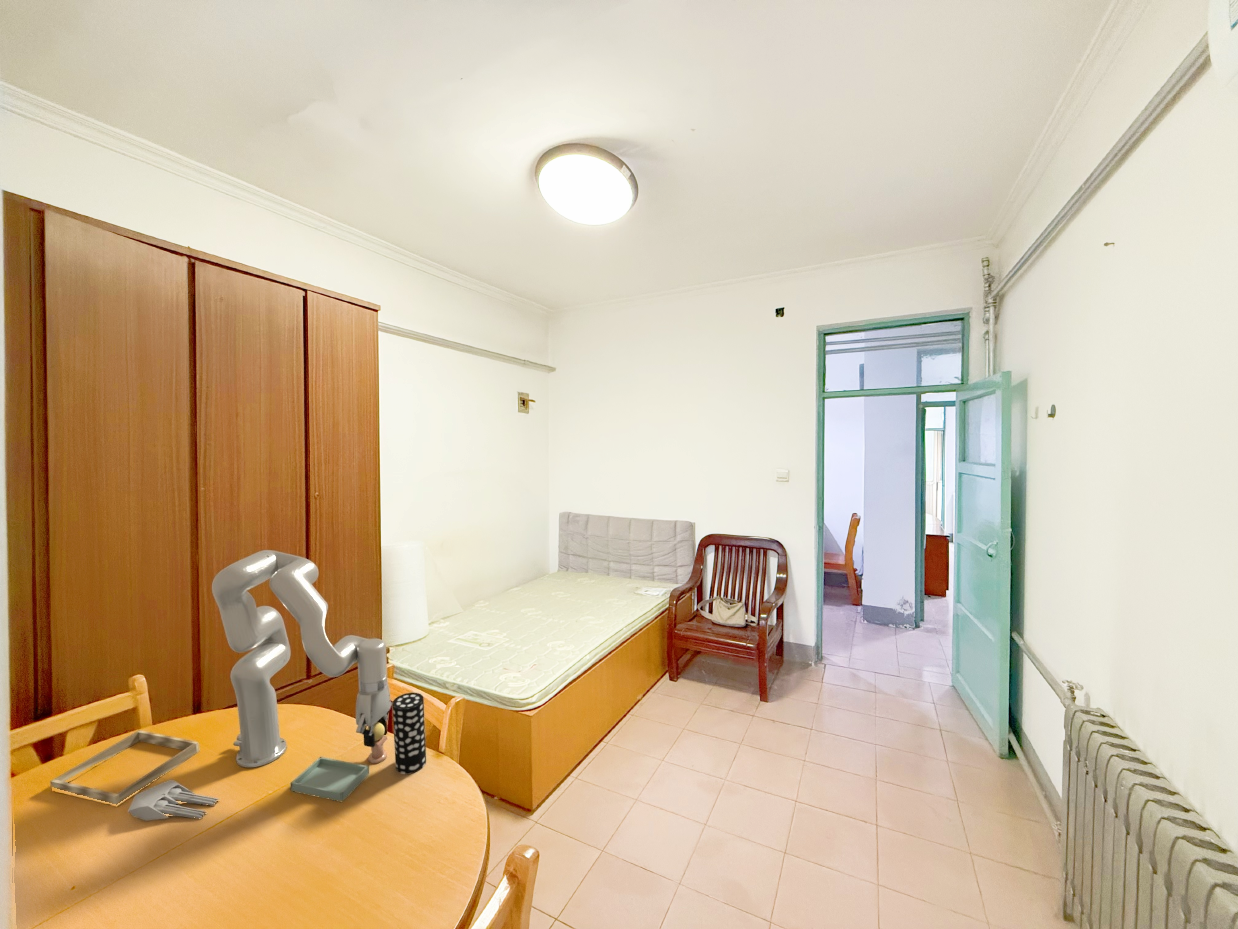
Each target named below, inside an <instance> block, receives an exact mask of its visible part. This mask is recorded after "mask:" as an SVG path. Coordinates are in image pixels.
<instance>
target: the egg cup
mask: <svg viewBox="0 0 1238 929" xmlns="http://www.w3.org/2000/svg"><path fill="white" fill-rule="evenodd" d="M387 740H388V736H387V735H383V737H382V738H381V739H379V740H377V741H375V746H374V747H370V748H371V752H370V754H369V755H368V762H369V763H370V764H379V763H382V762H384V761H385V760H386V759H387V758H388V752H387V751H386V750H385V749H384V743H385V742H386V741H387Z"/></svg>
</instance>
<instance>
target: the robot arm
mask: <svg viewBox="0 0 1238 929" xmlns="http://www.w3.org/2000/svg"><path fill="white" fill-rule="evenodd" d="M319 574H320V572H319V568H318V566H317V565H316V563H314V562H313V561H311V559H309V558H308V559H307V558H306V557H302V556H299V555H294V554H290V553H287V552H286V553H285V552H281V551H277V550H273V549H272V550H271V549H264V550H260V551H257V552H255V553H252V554H251V555H250V554H249V556H246V557H243V558H242V559H239V560H237V561H235V562H233V563H231V564H230V565H228V566H226V567H225V568H223V569H221V570H220V571H219V572H218V573H216V575H215V576H214V578H213V580H212V584H211V592H212V595H213V598H214V601H215V602H216V605H217V607H218V610H219V613H220V617H221V622H222V626H223V628H224V633H225V638H226V640H227V643H228V645H229V648H230V649H231V650H232V651H234V652H235V653H238V654H239V653H241V654H242V653H246V652H248V653H246V654H245V655H243V657H241V658H240V659H239V660H238V661H236V662H235V664H234V666H233V667H232V669H231V671H230V681H231V684H232V687H233V690H234V694H235V699H236V704H237V712H238V722H239V724H238V725H239V732H240V733H239V734H238V735H237V736H236V740H235V741H233V743H232V745H233V746H234V747H239V751H238V752H237V754H236V757H235V758H236V759H235V760H236V764H237V765H238V766H240V767H241V768H250V769H251V768H257V767H262V766H265V765H267V764H271V763H272V762H274V761H275V760H277V759H278V758H280V757H281V756H282V755H283V754H284V752H286V749H287V748H288V747H287V746H288V745H287V741H286V740H285V739H284V738H283V737H281V736H280V735H281V733H280V724H279V711H278V701H277V693H276V690H275V688H274V686H272V684H271V681H270V680H271V678H272V677H273V676H274V675H276V673H278V672H279V671H280V670H282V669H283V667H285V666H286V665H287V663H288V662H289V661H290V659H291V654H292V653H291V652H292V651H291V645H290V642H289V638H288V633H287V630H286V626H285V621H284V618H283V617H282V615H281V613H280V612H279V611H278V610H277V609H276V608H275V607H272V606H269V605H261V606H258V607H257V603H256V600H255V598H254V597H253V595H252V594H251V593H250V592H248V591H249V590H251V589H253V588H255V587H256V586H259V585H261V584H262V583H265V582H266V581H268V580H269V582H268V584H269V588H270V590H271V591H272V592H273V594H274V595H275V597H276V598H277V599H278V600H279V601H280V603H281V604H282V605H283V606H284V607H285V608H286V610H287V611H288V612H289V613H290V614H291V616H292V617H293V618H294V619H295V620H296V622H297V623H298V625H299V628H300V636H301V642H302V645H303V649H304V652H305V654H306V655H307V657H308V658H309V660H310V661H311V662H312V663H313V665H314V666H315V667H316V668H317V670H318V671H320V672H321V673H322V674H324V675H325V676H326V677H331V678H335V677H336V678H337V677H340V676H342V675H343V674H345V673H346V672H347V671H348V670H349V669H350V668H351V667H352V666H353V665H354V664H356V663H357V670H358V671H357V672H358V674H357V675H358V692H357V696H356V701H355V702H356V703H355V724H356V725H357V727H356V731H355V733H358V734H361V735H363V745H364V747H370V748H371V747H374V746H375V736H374V734H373V727H374V724H375V723H376V722H379V723H381V724H383V726H384V728H385V732H384V736H387V734H388V720H389V713H390V710H391V708H392V703H393V701H391V694H390V693H391V692H390V686H389V683H388V668H387V667H388V664H387V644H386V642H385V641H384V640H383V639H380V638H366V637H362V636H358V635H353V634H352V635H351V634H349V635H346V636H343V637H342V638H341V639H339V641H338V642H336V643H335V644H334V645H333V644H332V643H331V642H330V640H329V638H328V637H327V634H326V630H325V623H326V617H327V613H328V609H329V605H328V602H327V601H326V600H325V599H324V598H323V597H322V595H321V594H320V593H319V592H318V590H317V589H316V588H315V586H314V585H313V584H314V583H315V582H317V580H318V577H319ZM249 651H250V652H249ZM368 727H369V730H367V728H368Z"/></svg>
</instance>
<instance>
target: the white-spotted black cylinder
mask: <svg viewBox="0 0 1238 929" xmlns="http://www.w3.org/2000/svg"><path fill="white" fill-rule="evenodd" d="M424 698H425V697H424V696H423V695H422V694H421V693H419V692H406V693H404V694H400V695H398V696H396V698H394V699H393V701H392V705H391V707H392V719H393V720H392V723H393V741H394V742H393V745H394V760H395V762H394V764H395V770H396V771H397V772H398V773H400V774H402V775H410V774H415V773H417V772H419V771H420V770H422V769H423V768H424V767H425V765H426V763H427V748H426V730H425V729H426V727H425V724H426V723H425V702H424Z"/></svg>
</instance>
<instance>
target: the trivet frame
mask: <svg viewBox="0 0 1238 929" xmlns="http://www.w3.org/2000/svg"><path fill="white" fill-rule="evenodd" d="M138 742H142V743H143V742H144V743H147V744H153V745H157V746H161V747H166V748H171V749H174V750H175V749H176V750H181V751H179V752H178V753H177V754H176V755H174V756H172V757H171V758H169V759H168V760H165V762H163V763H161V764H160V765H158V766H157V767H156V768H154V769H152V770H151V771H149V772H148V773H147V774H145V775H144V776H142V777H140V778H138V779H137V780H136V781H134V782H132V783H131V784H129V785H128V786H126V787H125V788H124V789H122V790H120V791H118V792H117V793H114V792H109V791H104V790H100V789H97V788H93V787H88V786H86V785H85V786H84V785H80V784H76V783H72V782H70V783H68V782H65V781H66V780H68V779H70V778H71V777H73V776H75V775H76V774H78V773H80V772H82V771H84V770H86V769H87V768H89V767H92V766H93V765H95V764H97V763H99V762H101V761H103V760H106V759H108V758H110V757H112V756H113V757H115V756H117V755H118V754H117V753H119V752H120V753H121V751H122V752H123V750H124V751H126V750H127V749H129V748H130V747H132V746H134V745H135V744H137V743H138ZM199 743H200V742H198V741H194V740H190V739H185V738H179V737H175V736H170V735H165V734H161V733H157V732H156V733H154V732H151V731H145V730H137V731H135V732H133V733H131V734H129V735H128V736H127V737H124V738H122V739H121V740H120V741H118V742H115V743H114V744H113V745H111V746H109V747H106V748H105V749H104V750H102V751H100V752H98V753H97V754H94V755H93V756H91V757H89V758H88V759H86V760H85V761H82V762H81V763H79V764H77V765H75V766H74V767H72V768H70V769H69V770H67V771H65V772H64V773H62V774H60V775H58V776H57V777H54V778H53V779H52V780H50V782H49V784H50V788H51V787H54V788H57V789H60V790H64V791H68V792H71V793H75V794H77V795H83V796H87V797H89V798H93V799H97V800H101V801H105V802H109V803H112V804H116V805H117V804H118V803H120V802H121V801H123V800H124V799H126V798H127V797H129V796H130V795H132V794H133V793H135V792H136V791H138V790H140V789H141V788H143V787H145V786H146V785H148V784H149V783H151V782H152V781H153V780H155V779H157V778H158V777H160V776H161V775H163V774H165V773H166V772H168V771H170V770H171V771H173V770H174V769H175V767H176V768H178V766H181V764H183V763H184V762H186V761H187V760H189V759H190V758H191V757H192V758H193V756H195V755H196V754H199V752H200V744H199ZM126 748H127V749H126ZM120 753H119V754H120ZM116 754H117V755H116ZM114 755H115V756H114ZM113 757H112V758H113ZM110 759H111V758H110ZM108 760H109V759H108ZM173 768H174V769H173ZM172 769H173V770H172ZM171 771H170V772H171ZM168 773H169V772H168ZM165 775H166V774H165Z"/></svg>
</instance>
